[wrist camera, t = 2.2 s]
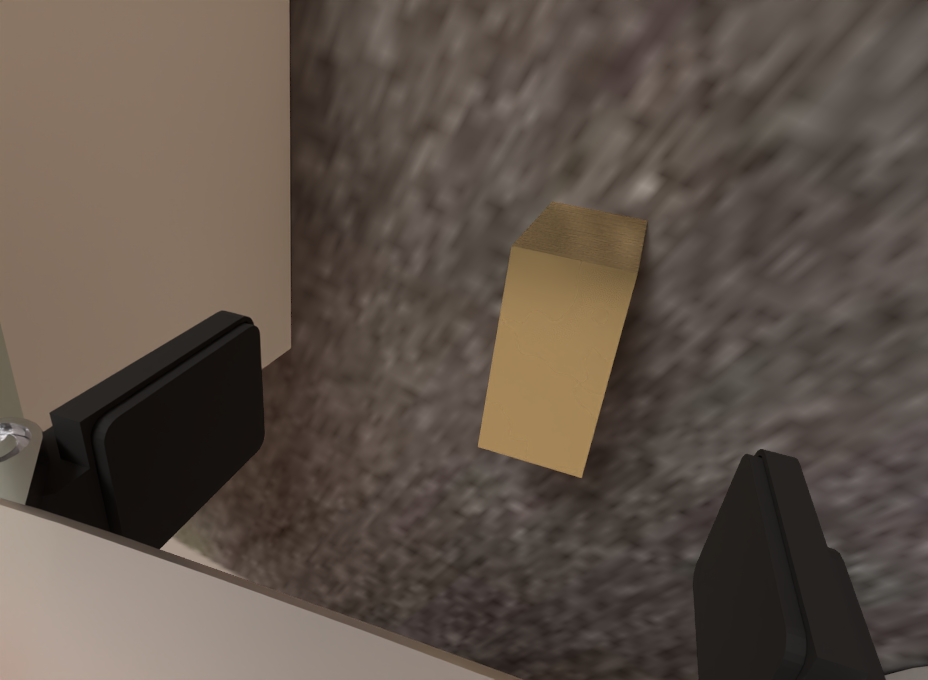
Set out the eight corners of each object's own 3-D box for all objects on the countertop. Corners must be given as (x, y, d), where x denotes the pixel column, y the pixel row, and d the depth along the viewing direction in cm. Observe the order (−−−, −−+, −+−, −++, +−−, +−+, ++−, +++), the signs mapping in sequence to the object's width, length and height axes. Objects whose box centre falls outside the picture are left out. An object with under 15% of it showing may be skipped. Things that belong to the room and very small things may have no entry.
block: (602, 385, 21) (581, 478, 16) (520, 363, 22) (477, 446, 17) (647, 220, 18) (637, 273, 14) (552, 201, 19) (511, 245, 14)
